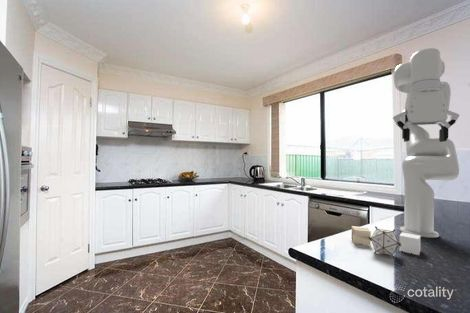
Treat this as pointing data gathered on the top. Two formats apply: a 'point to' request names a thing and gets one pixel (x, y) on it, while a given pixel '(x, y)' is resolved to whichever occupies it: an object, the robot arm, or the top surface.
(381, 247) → the game die
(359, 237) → the ash block
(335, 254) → the top surface
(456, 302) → the top surface
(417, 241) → the white block
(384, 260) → the top surface
